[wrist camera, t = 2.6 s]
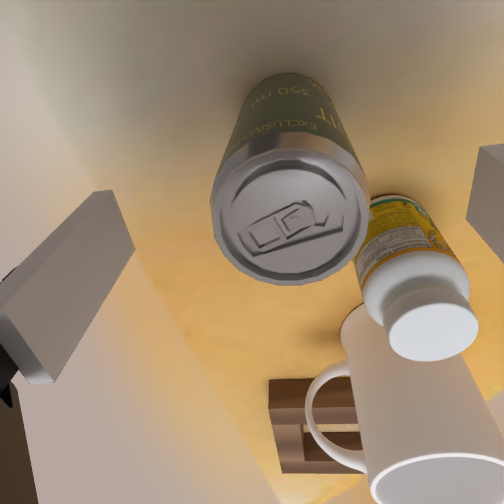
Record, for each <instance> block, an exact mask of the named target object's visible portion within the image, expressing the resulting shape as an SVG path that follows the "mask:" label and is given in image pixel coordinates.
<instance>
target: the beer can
mask: <svg viewBox="0 0 504 504" xmlns="http://www.w3.org/2000/svg"><path fill="white" fill-rule="evenodd" d="M370 200H371V197H370V193H369V189H368V184H367V180H366V176H365V173H364V171H363V169H362V167H361V165H360V162H359V160H358V158H357V156H356V154H355V152H354V149H353V147H352V145H351V143H350V141H349V139H348V136H347V134H346V132H345V130H344V128H343V126H342V123H341V121H340V119H339V117H338V115H337V113H336V111H335V108H334V106H333V104H332V102H331V100H330V98H329V97H328V95H327V94H326V92H325V91H324V89H323V88H322V87H321V86H320V85H318V84H317V83H316V82H314V81H313V80H312V79H310V78H308V77H305V76H302V75H298V74H295V73H291V74H278V75H275V76H273V77H270V78H268V79H265V80H263V81H262V82H261V83H260V84H259V85H257V86H256V87H255V88H254V89H253V90H252V91H251V92H250V94H249V96H248V97H247V99H246V101H245V102H244V104H243V106H242V109H241V111H240V114H239V117H238V119H237V122H236V124H235V127H234V130H233V132H232V135H231V138H230V140H229V143H228V145H227V148H226V151H225V153H224V156H223V158H222V161H221V164H220V166H219V169H218V172H217V174H216V177H215V180H214V184H213V189H212V194H211V198H210V207H211V214H212V223H213V230H214V237H215V239H216V241H217V243H218V245H219V247H220V249H221V251H222V253H223V255H224V256H225V257H226V258H227V259H228V260H229V261H230V262H231V263H232V264H233V265H234V266H235V267H236V268H237V269H238V270H239V271H241V272H243V273H245V274H247V275H248V276H250V277H252V278H254V279H256V280H258V281H262V282H266V283H270V284H274V285H278V286H300V285H304V284H309V283H313V282H317V281H321V280H323V279H325V278H327V277H329V276H330V275H332V274H334V273H336V272H338V271H340V270H341V269H342V268H343V267H344V266H345V265H346V264H347V263H348V262H349V261H350V260H351V259H352V258H353V257H354V256H355V255H356V254H357V252H358V251H359V249H360V247H361V245H362V243H363V241H364V239H365V237H366V235H367V228H368V220H369V207H370Z"/></svg>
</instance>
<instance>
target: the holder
mask: <svg viewBox="0 0 504 504" xmlns="http://www.w3.org/2000/svg"><path fill="white" fill-rule="evenodd" d="M313 380H314V379H289V380H269V405H268V409H269V414H270V419H271V423H272V428H273V433H274V437H275V442H276V446H277V451H278V456H279V460H280V465H281V470H282V473H317V474H365V473H363V472H361V471H359V470H356V469H353V468H350V467H348V466H345V465H343V464H341V463H339V462H338V461H336V460H335V459H333V458H332V457H330V456H329V455H328V454H327V453H326V452H325V451H324V450H323V449H322V448H321V447H320V446H319V445H318V443H317V442H316V441H315V439H314V437H313V436H312V434H311V433H304V432H303V425H302V424H307V420H306V415H305V401H306V396H307V392H308V389H309V387H310V385H311V383H312V382H313ZM312 416H313V419H314V422H315V424H358V419H357V413H356V407H355V402H354V396H353V390H352V384H351V379H350V377H349V378H332V379H330V380H328V381H327V382H325V383H324V384H323V385H322V386H321V387H320V388H319V389H318V391H317V392H316V394H315V396H314V399H313V402H312ZM322 434H323V435H324V436H325V437H326V438H327V439H328V440H329V441H331V442H332V443H334V444H335V445H337V446H339V447H342V448H344V449H347V450H354V451H360V450H363V447H362V442H361V436H360V432H334V433H322Z"/></svg>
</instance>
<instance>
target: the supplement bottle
mask: <svg viewBox="0 0 504 504" xmlns="http://www.w3.org/2000/svg"><path fill="white" fill-rule="evenodd" d="M352 260H353V264H354V267H355V271H356V275H357V279H358V283H359V286H360V290H361V294H362V298H363V302H364V305H365V308H366V310H367V312H368V313H369V315H370V316H371V317H372V318H373V319H374V320H375V321H376V322H377V323H378V324H380V325H381V326H383V328H384V330H385V332H386V335H387V338H388V341H389V343H390V345H391V347H392V349H393V350H394V351H395V352H396V353H398V354H399V355H400V356H402V357H405V358H407V359H410V360H415V361H437V360H442V359H446V358H448V357H452V356H454V355H456V354H458V353H460V352H462V351H463V350H465V349H466V348H467V347H468V346H469V345H470V344H471V343H472V342H473V341H474V339H475V338H476V336H477V333H478V327H479V326H478V321H477V318H476V316H475V314H474V312H473V310H472V309H471V307H470V305H469V303H468V301H467V300H468V297H469V292H470V284H469V279H468V276H467V273H466V272H465V270H464V268H463V267H462V265H461V263H460V262H459V260H458V259H457V257H456V256H455V254H454V253H453V251H452V250H451V248H450V247H449V245H448V244H447V242H446V241H445V240H444V238H443V236H442V235H441V233H440V232H439V231H438V229H437V227H436V226H435V225H434V223H433V221H432V220H431V218H430V217H429V215H428V214H427V213H426V211H425V210H424V209H423V208H422V207H421V206H420V205H419V204H418V203H416V202H415V201H413V200H412V199H410V198H407V197H404V196H399V195H389V196H383V197H379V198H376V199H373V200H371V201H370V207H369V220H368V228H367V235H366V237H365V239H364V241H363V243H362V245H361V247H360V249H359V251H358V252H357V254H356V255H355V256H354V257H353V258H352Z"/></svg>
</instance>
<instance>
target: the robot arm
mask: <svg viewBox="0 0 504 504" xmlns="http://www.w3.org/2000/svg"><path fill="white" fill-rule="evenodd" d="M466 220H467V221H468V222H469V223H470V225H471V226H472V227H473V228H474V229H475V230H476V232H477V233H478V234H479V235H480V236H481V237H482V239H483V240H484V241H485V242H486V243H487V244H488V246H489V247H490V248H491V249H492V250H493V251H494V253H495V254H496V255H497V256H498V257H499V258H500V260H501V261H502V262H503V263H504V144H497V145H488V146H480V147H479V152H478V158H477V163H476V168H475V173H474V178H473V184H472V189H471V194H470V199H469V204H468V210H467V215H466ZM134 251H135V247H134V245H133V242H132V240H131V237H130V234H129V232H128V229H127V227H126V224H125V222H124V219H123V216H122V214H121V211H120V209H119V206H118V204H117V201H116V198H115V196H114V193H113V191H112V190H105V191H97V192H93V193H92V194H91V195H90V196H89V197H88V198H87V199H86V200H85V201H84V202H83V203H82V204H81V205H80V206H79V207H78V208H77V209H76V210H75V211H74V212H73V213H72V214H71V215H70V216H69V217H68V218H67V219H66V220H65V221H64V222H63V223H62V224H61V225H60V226H58V228H56V229H55V230H54V231H53V232H52V233H51V234H50V235H49V236H48V237H47V238H46V240H44V241H43V242H42V243H41V244H40V245H39V246H38V247H37V248H36V249H35V250H34V251H33V252H32V253H31V254H30V255H29V256H28V257H27V258H26V259H25V260H24V261H23V262H22V263H21V264H20V265H19V266H18V267H16V268H14V269H13V270H12V271H11V272H10V273H9V274H8V275H7V276H6V277H5V278H4V279H2V282H1V283H0V504H38V499H37V493H36V488H35V483H34V477H33V472H32V467H31V461H30V456H29V451H28V445H27V440H26V435H25V429H24V424H23V419H22V413H21V408H20V403H19V397H18V392H17V389H16V387H15V386H14V384H13V383H12V382H11V379H12V378H13V377H14V375H15V374H16V372H17V371H18V370H19V371H20V372H21V373H22V375H23V376H24V377H25V379H26V380H27V381H28V383H29V384H34V383H55V381H56V380H57V378H58V376H59V374H60V373H61V371H62V370H63V368H64V366H65V365H66V363H67V361H68V360H69V358H70V356H71V355H72V353H73V351H74V350H75V348H76V346H77V345H78V343H79V342H80V340H81V338H82V337H83V335H84V333H85V332H86V330H87V328H88V327H89V325H90V323H91V322H92V320H93V318H94V317H95V315H96V313H97V312H98V310H99V309H100V307H101V305H102V303H103V302H104V300H105V299H106V297H107V295H108V294H109V292H110V290H111V289H112V287H113V285H114V284H115V282H116V280H117V279H118V277H119V275H120V274H121V272H122V270H123V269H124V267H125V265H126V264H127V262H128V261H129V259H130V257H131V256H132V254H133V252H134Z"/></svg>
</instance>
